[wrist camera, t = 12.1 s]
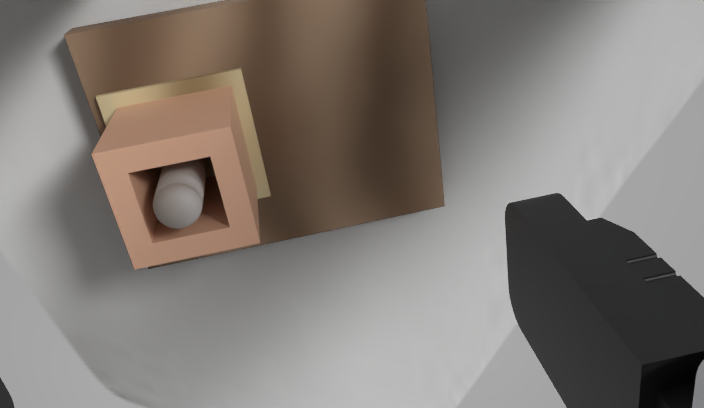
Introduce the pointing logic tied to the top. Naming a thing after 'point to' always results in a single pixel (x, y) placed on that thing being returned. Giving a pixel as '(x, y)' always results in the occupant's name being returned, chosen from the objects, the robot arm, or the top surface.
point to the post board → (286, 104)
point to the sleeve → (170, 148)
